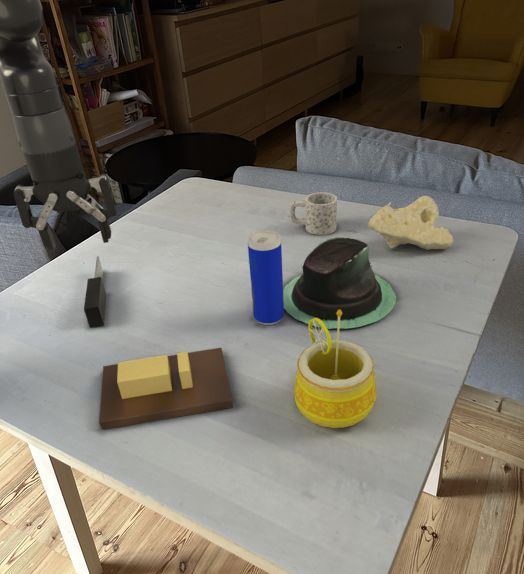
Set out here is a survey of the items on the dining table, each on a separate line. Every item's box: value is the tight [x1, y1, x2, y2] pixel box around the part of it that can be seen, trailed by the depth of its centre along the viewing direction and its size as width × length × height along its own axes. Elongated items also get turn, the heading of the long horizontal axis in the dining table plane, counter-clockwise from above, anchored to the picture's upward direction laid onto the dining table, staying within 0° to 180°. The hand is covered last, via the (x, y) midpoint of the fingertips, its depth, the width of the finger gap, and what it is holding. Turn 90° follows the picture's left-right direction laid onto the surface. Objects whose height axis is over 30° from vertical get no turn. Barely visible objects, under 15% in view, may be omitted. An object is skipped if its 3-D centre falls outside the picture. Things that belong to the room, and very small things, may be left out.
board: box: [98, 347, 234, 431], centre depth 77 cm, size 18×12×2 cm, turn 101°
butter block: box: [117, 354, 172, 399], centre depth 76 cm, size 7×4×3 cm, turn 101°
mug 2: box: [293, 309, 377, 429], centre depth 70 cm, size 13×11×12 cm
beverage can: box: [247, 229, 285, 326], centre depth 86 cm, size 5×5×15 cm
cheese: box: [367, 195, 454, 251], centre depth 106 cm, size 15×7×15 cm
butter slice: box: [176, 350, 193, 389], centre depth 76 cm, size 2×4×3 cm, turn 11°
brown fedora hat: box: [283, 236, 397, 330], centre depth 92 cm, size 15×19×20 cm
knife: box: [83, 256, 107, 329], centre depth 98 cm, size 19×2×4 cm, turn 11°
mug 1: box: [289, 191, 338, 236], centre depth 114 cm, size 10×7×7 cm, turn 77°
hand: (79, 244), depth 87 cm, fingers open, 8 cm apart
